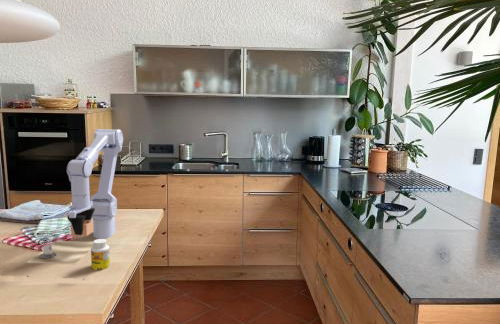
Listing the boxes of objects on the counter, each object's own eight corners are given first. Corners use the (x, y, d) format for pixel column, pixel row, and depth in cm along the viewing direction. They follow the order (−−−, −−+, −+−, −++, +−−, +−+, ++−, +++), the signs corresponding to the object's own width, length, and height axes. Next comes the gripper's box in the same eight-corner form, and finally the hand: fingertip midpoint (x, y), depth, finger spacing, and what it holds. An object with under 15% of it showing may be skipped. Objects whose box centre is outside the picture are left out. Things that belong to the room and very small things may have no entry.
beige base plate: (57, 244, 148) (56, 240, 147) (99, 245, 147) (98, 242, 147) (26, 267, 128) (26, 262, 128) (74, 268, 128) (74, 264, 127)
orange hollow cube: (78, 230, 140) (77, 218, 139) (93, 230, 140) (92, 218, 139) (71, 235, 135) (70, 222, 134) (86, 236, 135) (86, 223, 134)
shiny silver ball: (44, 256, 136) (43, 243, 135) (59, 257, 136) (58, 243, 135) (36, 262, 131) (35, 248, 130) (51, 263, 131) (50, 249, 130)
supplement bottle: (88, 271, 126) (86, 241, 124) (102, 265, 130) (101, 236, 129) (99, 276, 123) (98, 245, 121) (113, 269, 128) (112, 239, 126)
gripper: (78, 188, 142) (80, 224, 144) (58, 199, 128) (60, 238, 130) (97, 189, 142) (99, 225, 144) (80, 199, 128) (82, 239, 130)
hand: (82, 231), depth 137 cm, fingers closed on orange hollow cube, 5 cm apart
